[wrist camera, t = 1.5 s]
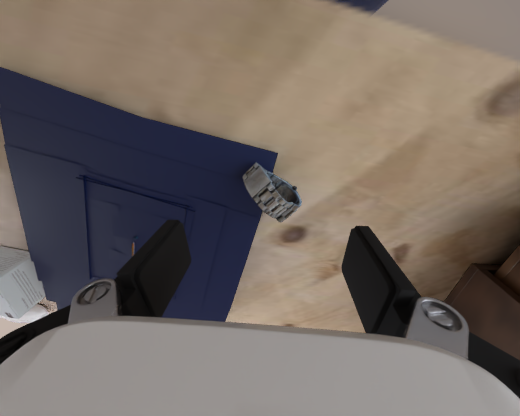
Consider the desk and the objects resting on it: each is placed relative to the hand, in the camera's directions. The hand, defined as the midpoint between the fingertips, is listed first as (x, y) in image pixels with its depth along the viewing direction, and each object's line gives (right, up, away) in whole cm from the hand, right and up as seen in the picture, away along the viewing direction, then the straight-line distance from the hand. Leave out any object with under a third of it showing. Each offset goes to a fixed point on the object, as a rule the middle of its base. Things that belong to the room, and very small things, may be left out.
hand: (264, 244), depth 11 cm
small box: (-35, -7, +18) cm, 40 cm away
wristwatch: (+1, +4, +7) cm, 9 cm away
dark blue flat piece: (-14, -2, +13) cm, 19 cm away
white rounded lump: (-40, -15, +23) cm, 49 cm away
